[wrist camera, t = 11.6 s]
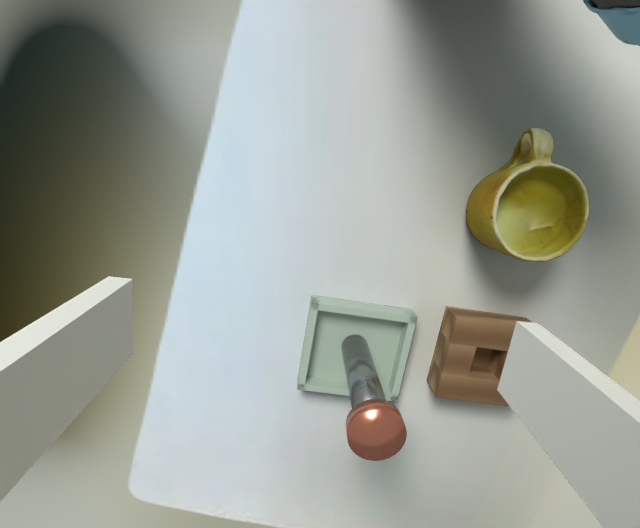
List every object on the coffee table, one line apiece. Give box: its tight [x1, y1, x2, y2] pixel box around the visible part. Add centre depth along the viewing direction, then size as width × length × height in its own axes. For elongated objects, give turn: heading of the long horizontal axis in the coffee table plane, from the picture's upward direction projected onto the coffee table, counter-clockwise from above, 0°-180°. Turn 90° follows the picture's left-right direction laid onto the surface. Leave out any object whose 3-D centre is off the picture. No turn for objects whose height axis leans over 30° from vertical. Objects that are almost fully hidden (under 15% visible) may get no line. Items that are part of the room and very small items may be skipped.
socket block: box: [427, 306, 533, 406], centre depth 46 cm, size 10×10×4 cm
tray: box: [297, 295, 417, 402], centre depth 46 cm, size 11×12×2 cm
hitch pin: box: [341, 335, 407, 461], centre depth 39 cm, size 5×5×16 cm
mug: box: [466, 128, 589, 262], centre depth 39 cm, size 12×10×10 cm
